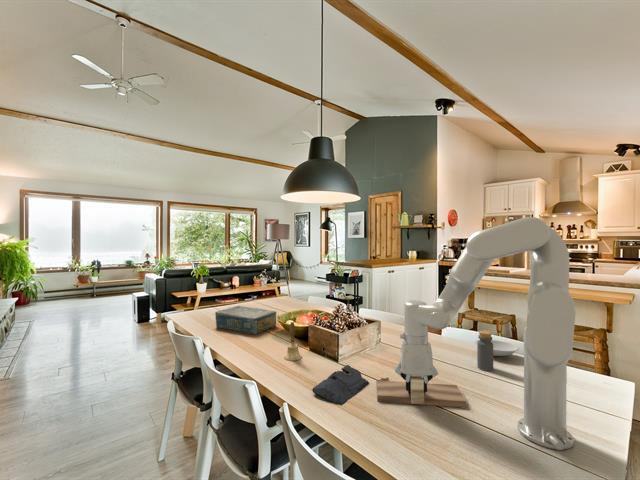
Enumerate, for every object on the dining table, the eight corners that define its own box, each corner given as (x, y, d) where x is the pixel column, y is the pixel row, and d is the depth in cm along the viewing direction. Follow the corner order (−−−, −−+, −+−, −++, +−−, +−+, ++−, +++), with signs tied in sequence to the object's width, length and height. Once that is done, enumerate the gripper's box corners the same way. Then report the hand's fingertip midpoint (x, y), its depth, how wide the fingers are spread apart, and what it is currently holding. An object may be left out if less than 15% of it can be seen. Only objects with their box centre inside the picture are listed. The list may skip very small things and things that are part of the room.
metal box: (238, 320, 209) (238, 305, 209) (277, 326, 193) (277, 310, 193) (213, 328, 191) (213, 311, 191) (254, 336, 175) (254, 318, 175)
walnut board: (466, 407, 100) (466, 401, 100) (377, 401, 104) (377, 395, 104) (456, 390, 111) (456, 385, 111) (376, 385, 115) (376, 380, 115)
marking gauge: (424, 404, 101) (424, 381, 101) (411, 403, 102) (411, 380, 102) (419, 389, 111) (419, 368, 111) (407, 388, 112) (407, 367, 112)
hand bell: (283, 361, 139) (282, 325, 139) (284, 354, 147) (284, 320, 147) (301, 360, 139) (301, 324, 139) (302, 353, 147) (302, 319, 147)
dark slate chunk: (304, 394, 110) (304, 381, 110) (338, 372, 128) (338, 360, 128) (342, 408, 101) (342, 394, 101) (372, 382, 119) (372, 370, 119)
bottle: (495, 371, 126) (495, 334, 126) (479, 370, 127) (479, 333, 127) (490, 365, 132) (490, 330, 132) (475, 364, 133) (475, 329, 133)
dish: (472, 356, 142) (472, 345, 142) (477, 347, 154) (477, 337, 154) (518, 365, 132) (518, 353, 132) (519, 354, 144) (519, 343, 144)
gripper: (391, 341, 102) (391, 397, 102) (445, 343, 99) (445, 400, 99) (389, 334, 109) (389, 386, 109) (439, 336, 107) (439, 389, 107)
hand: (416, 392), depth 104 cm, fingers closed on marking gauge, 4 cm apart
